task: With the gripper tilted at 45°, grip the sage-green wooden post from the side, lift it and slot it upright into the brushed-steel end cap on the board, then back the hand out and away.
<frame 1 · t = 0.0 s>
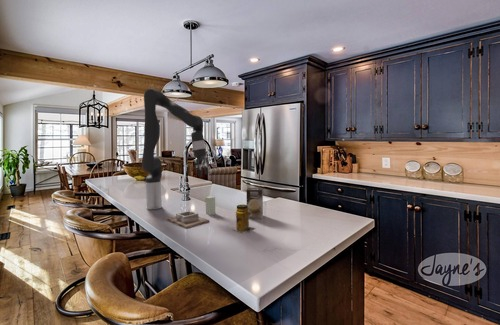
hand: (203, 175, 158), 22 cm above the kitchen island, tool pointing down, fingers open, 8 cm apart
post: (210, 213, 155), on the kitchen island
coffee box: (254, 217, 148), on the kitchen island
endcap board: (187, 220, 142), on the kitchen island
condiment: (244, 229, 128), on the kitchen island
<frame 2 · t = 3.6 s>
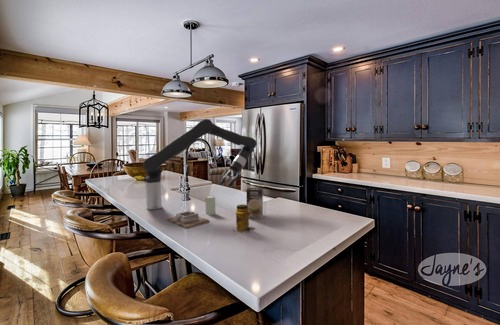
hand: (225, 184, 162), 16 cm above the kitchen island, tool tilted 45°, fingers open, 8 cm apart
nothing on the kitchen island moved.
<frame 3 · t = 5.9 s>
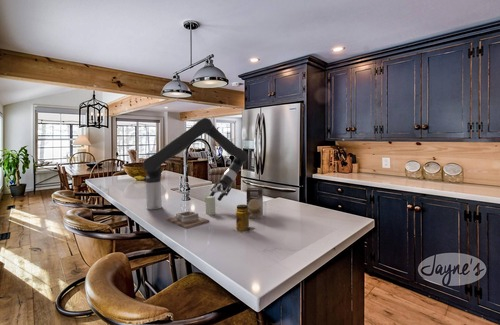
hand: (214, 199, 157), 8 cm above the kitchen island, tool tilted 45°, fingers open, 8 cm apart
nothing on the kitchen island moved.
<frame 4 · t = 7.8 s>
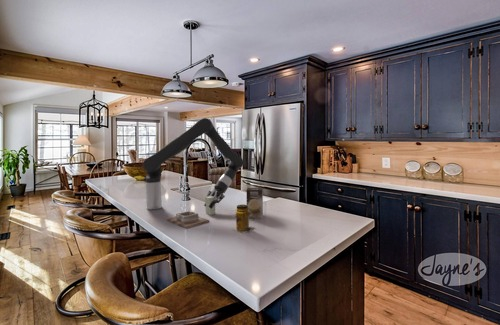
hand: (207, 206, 154), 4 cm above the kitchen island, tool tilted 45°, fingers closed on post, 4 cm apart
post: (210, 213, 155), on the kitchen island, touching gripper
everything else where it was.
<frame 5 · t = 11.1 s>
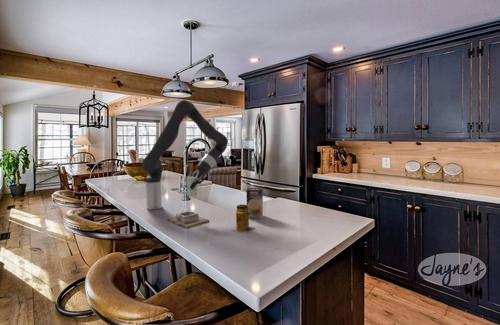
hand: (188, 188, 142), 18 cm above the kitchen island, tool tilted 45°, fingers closed on post, 4 cm apart
post: (192, 195, 144), point 13 cm above the kitchen island, touching gripper
everything else where it was.
when the fingers open (7 cm above the kitchen island, at t = 14.6 s): post drops 1 cm, resting on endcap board.
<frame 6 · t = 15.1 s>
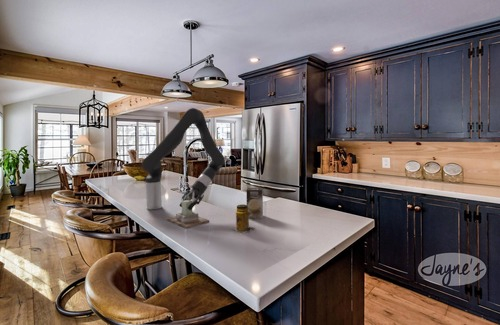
hand: (184, 208, 140), 7 cm above the kitchen island, tool tilted 45°, fingers open, 8 cm apart
post: (187, 219, 142), point 1 cm above the kitchen island, touching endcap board
everything else where it was.
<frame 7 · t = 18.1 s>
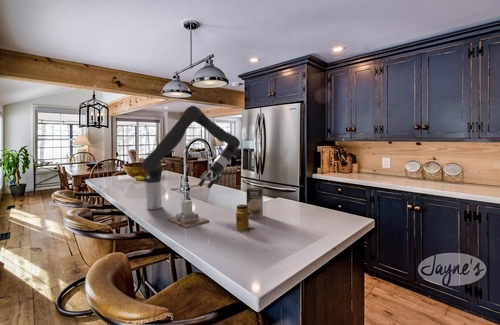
hand: (203, 186, 148), 17 cm above the kitchen island, tool tilted 45°, fingers open, 8 cm apart
nothing on the kitchen island moved.
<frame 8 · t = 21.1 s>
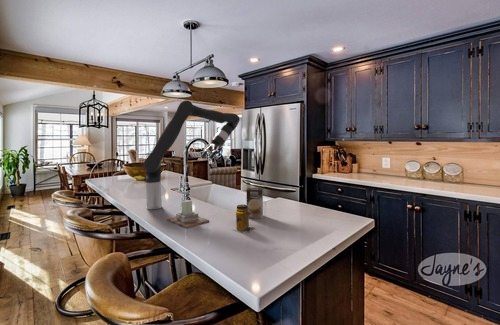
hand: (206, 157, 160), 33 cm above the kitchen island, tool tilted 45°, fingers open, 8 cm apart
nothing on the kitchen island moved.
at the end: post 0.0 cm off-centre on the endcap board, point 1.0 cm above the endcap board's base; post tilted 0°; the gripper is holding nothing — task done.
